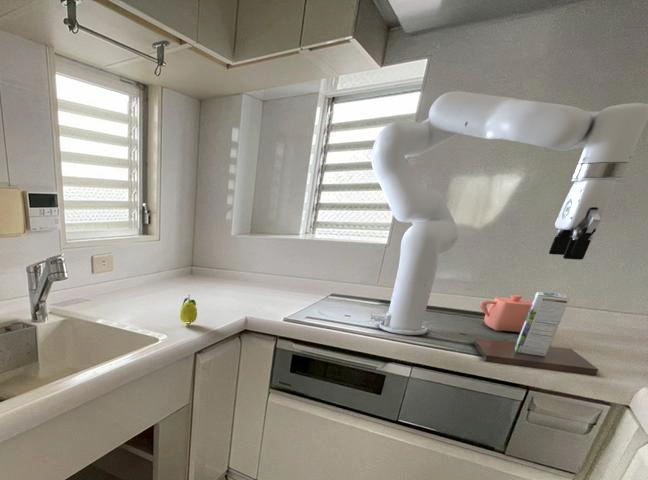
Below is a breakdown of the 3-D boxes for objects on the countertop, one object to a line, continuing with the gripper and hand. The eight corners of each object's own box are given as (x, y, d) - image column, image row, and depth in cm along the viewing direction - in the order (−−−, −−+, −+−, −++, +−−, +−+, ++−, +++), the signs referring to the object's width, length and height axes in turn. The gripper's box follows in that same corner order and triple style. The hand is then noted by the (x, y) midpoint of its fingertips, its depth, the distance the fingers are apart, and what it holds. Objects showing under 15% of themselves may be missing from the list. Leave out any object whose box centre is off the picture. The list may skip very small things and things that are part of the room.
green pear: (181, 328, 127) (182, 297, 123) (175, 323, 132) (176, 293, 128) (201, 326, 129) (202, 295, 125) (194, 322, 134) (195, 292, 130)
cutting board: (484, 360, 99) (486, 355, 99) (473, 343, 112) (474, 337, 112) (595, 375, 90) (598, 369, 90) (569, 354, 103) (571, 348, 103)
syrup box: (514, 346, 104) (534, 290, 99) (545, 351, 101) (568, 293, 95) (514, 352, 100) (536, 294, 95) (546, 357, 97) (571, 297, 91)
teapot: (468, 321, 133) (478, 290, 129) (537, 327, 126) (550, 294, 122) (478, 330, 123) (489, 296, 119) (554, 337, 116) (568, 302, 112)
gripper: (560, 176, 94) (532, 251, 101) (591, 171, 80) (555, 259, 87) (605, 175, 91) (572, 253, 98) (644, 170, 77) (603, 262, 84)
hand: (564, 256), depth 92 cm, fingers open, 9 cm apart
